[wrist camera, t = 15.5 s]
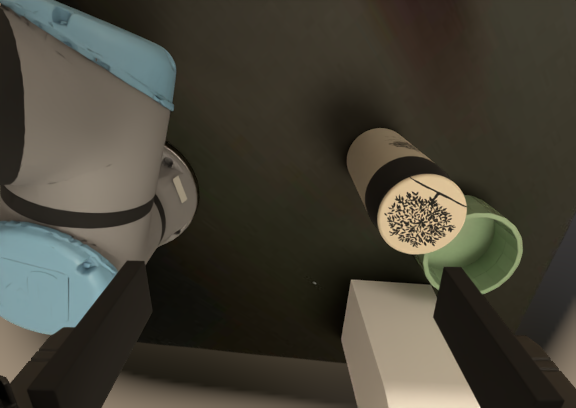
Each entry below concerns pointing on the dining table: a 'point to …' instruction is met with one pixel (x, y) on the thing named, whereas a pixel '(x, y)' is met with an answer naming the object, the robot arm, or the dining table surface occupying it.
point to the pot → (478, 249)
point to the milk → (400, 349)
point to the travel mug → (405, 192)
